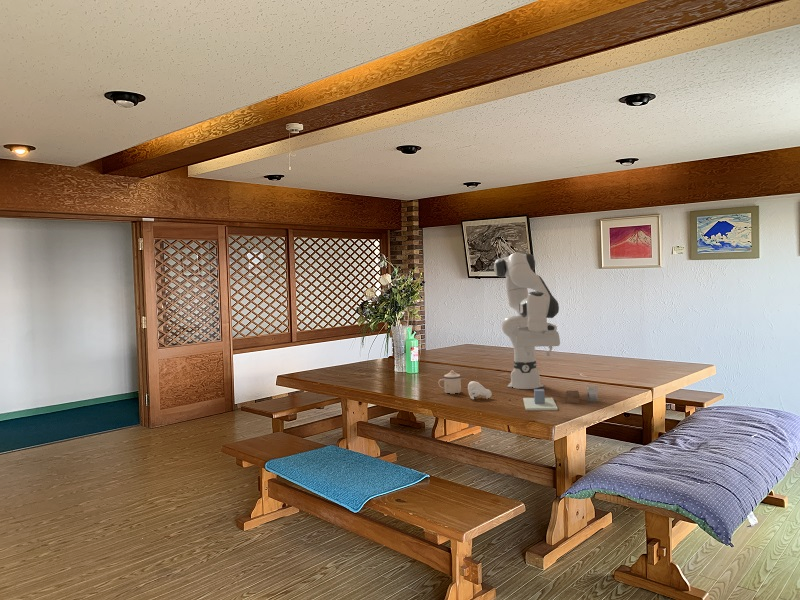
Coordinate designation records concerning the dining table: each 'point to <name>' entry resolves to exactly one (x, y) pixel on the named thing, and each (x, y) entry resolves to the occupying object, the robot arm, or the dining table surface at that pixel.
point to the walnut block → (573, 396)
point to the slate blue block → (539, 396)
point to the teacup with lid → (451, 383)
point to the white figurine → (478, 390)
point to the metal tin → (592, 393)
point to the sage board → (531, 404)
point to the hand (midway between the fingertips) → (537, 355)
